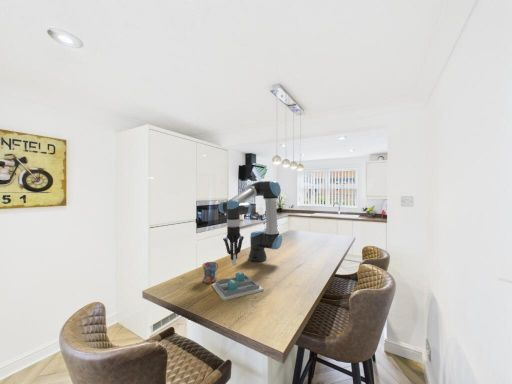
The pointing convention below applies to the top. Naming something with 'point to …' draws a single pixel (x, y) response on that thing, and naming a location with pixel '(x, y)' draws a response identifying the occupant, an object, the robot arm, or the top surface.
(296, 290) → the top surface
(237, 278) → the tab
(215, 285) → the switch board
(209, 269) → the mug
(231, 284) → the tab
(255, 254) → the robot arm
